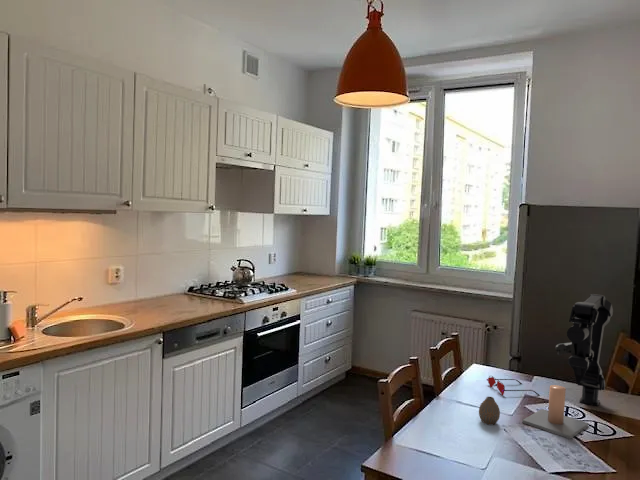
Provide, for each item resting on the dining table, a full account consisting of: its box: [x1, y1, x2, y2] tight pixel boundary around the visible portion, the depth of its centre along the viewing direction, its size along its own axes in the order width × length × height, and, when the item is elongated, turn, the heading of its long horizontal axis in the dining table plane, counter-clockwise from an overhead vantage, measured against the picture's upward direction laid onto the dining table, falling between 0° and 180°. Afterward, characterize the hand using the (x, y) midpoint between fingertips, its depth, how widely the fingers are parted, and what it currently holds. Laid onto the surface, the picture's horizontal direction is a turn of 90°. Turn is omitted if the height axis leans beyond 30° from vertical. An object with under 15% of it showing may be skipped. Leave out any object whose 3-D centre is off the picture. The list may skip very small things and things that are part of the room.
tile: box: [521, 408, 589, 440], centre depth 177 cm, size 16×16×1 cm
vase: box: [478, 396, 501, 426], centre depth 177 cm, size 7×7×9 cm
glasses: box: [486, 375, 541, 397], centre depth 211 cm, size 14×16×5 cm
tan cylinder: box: [547, 384, 567, 424], centre depth 177 cm, size 5×5×12 cm
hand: (579, 380), depth 186 cm, fingers open, 9 cm apart
